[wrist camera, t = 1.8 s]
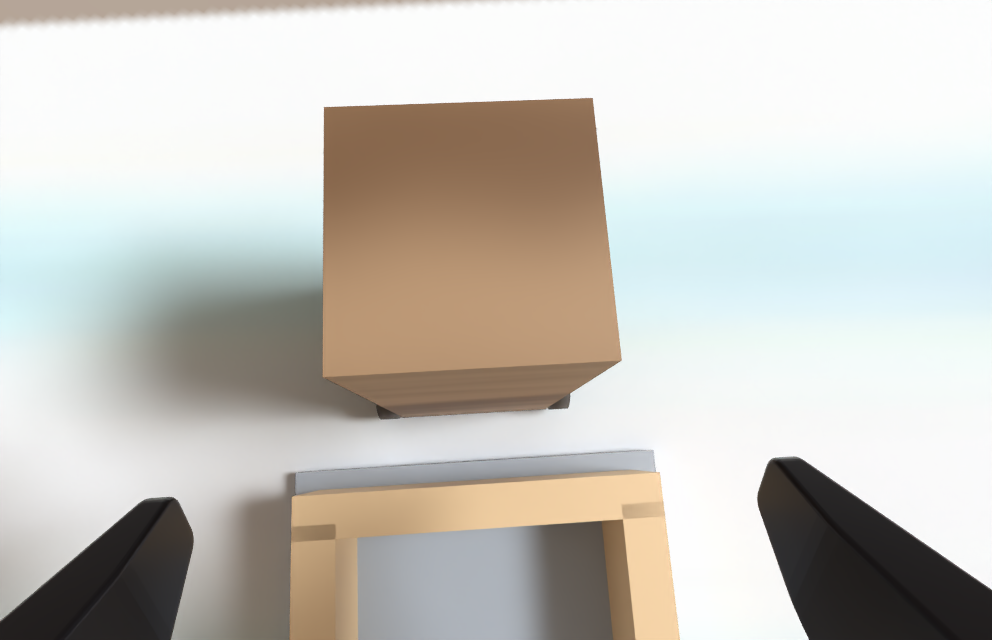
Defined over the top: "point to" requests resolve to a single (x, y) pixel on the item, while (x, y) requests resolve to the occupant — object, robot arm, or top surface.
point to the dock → (483, 551)
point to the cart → (465, 256)
